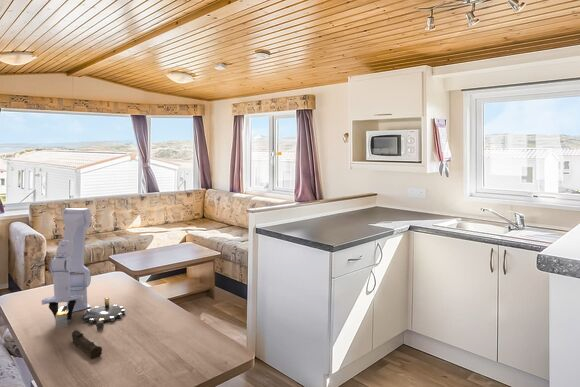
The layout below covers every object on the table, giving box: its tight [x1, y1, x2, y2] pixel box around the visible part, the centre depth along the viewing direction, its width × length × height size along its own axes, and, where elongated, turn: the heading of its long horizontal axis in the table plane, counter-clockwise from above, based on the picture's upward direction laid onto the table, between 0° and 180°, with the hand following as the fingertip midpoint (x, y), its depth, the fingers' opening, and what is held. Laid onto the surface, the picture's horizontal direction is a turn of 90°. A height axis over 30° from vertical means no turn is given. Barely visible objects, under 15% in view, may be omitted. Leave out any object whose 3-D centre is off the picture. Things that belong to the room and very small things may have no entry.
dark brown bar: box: [71, 329, 103, 360], centre depth 144 cm, size 19×4×5 cm, turn 48°
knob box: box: [54, 305, 71, 329], centre depth 165 cm, size 10×4×5 cm, turn 19°
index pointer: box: [96, 320, 105, 330], centre depth 161 cm, size 3×2×2 cm, turn 18°
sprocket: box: [82, 296, 126, 324], centre depth 172 cm, size 16×16×5 cm
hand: (63, 319), depth 165 cm, fingers closed on knob box, 4 cm apart
